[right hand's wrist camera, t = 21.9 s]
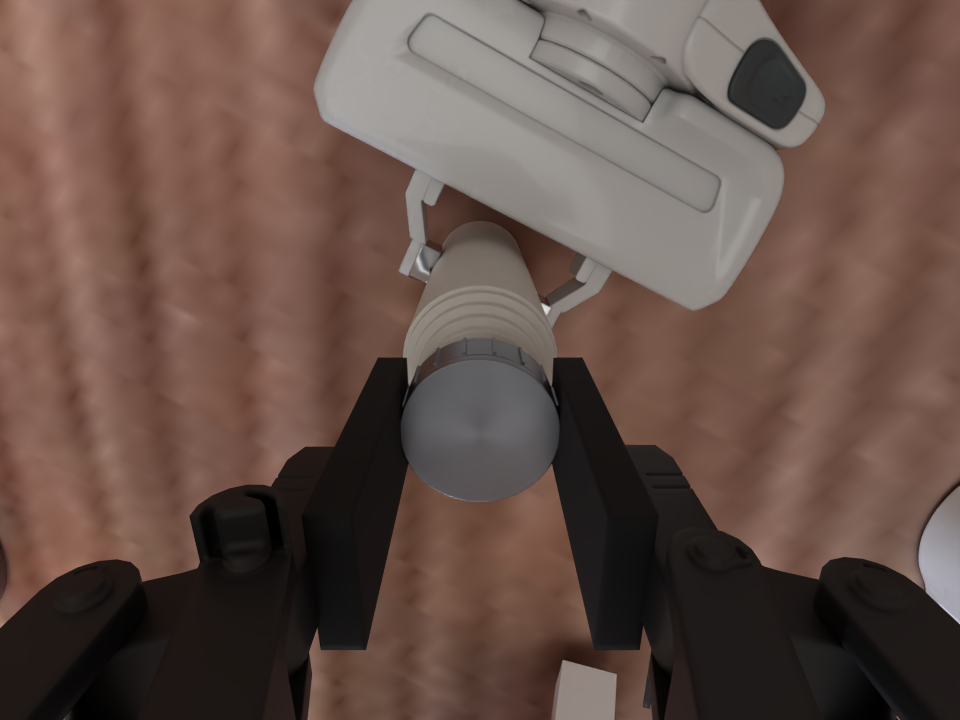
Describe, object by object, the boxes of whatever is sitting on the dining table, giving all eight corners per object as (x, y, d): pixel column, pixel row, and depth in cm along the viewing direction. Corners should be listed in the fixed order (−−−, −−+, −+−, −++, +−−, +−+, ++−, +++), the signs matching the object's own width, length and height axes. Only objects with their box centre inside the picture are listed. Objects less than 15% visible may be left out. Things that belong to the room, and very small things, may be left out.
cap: (415, 322, 14) (407, 343, 12) (570, 349, 14) (581, 372, 12) (396, 458, 15) (387, 491, 14) (537, 479, 15) (543, 514, 14)
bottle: (488, 319, 34) (498, 537, 15) (421, 272, 33) (342, 441, 14) (538, 254, 32) (621, 404, 13) (470, 202, 31) (457, 286, 12)
